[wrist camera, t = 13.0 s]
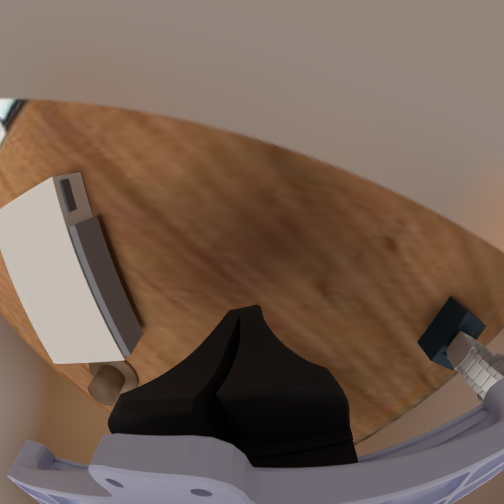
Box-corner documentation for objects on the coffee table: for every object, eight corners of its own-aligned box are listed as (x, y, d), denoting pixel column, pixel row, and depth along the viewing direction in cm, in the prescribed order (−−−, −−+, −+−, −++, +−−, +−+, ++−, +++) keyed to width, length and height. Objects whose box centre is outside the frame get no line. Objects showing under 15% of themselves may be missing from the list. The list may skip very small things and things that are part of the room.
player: (82, 171, 19) (53, 175, 15) (141, 334, 23) (126, 360, 20) (17, 207, 20) (-10, 215, 16) (71, 342, 24) (54, 363, 21)
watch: (448, 357, 24) (496, 423, 14) (406, 336, 23) (461, 418, 13) (478, 316, 23) (537, 374, 12) (441, 288, 22) (514, 355, 11)
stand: (147, 391, 26) (137, 414, 22) (107, 391, 26) (95, 412, 23) (123, 349, 24) (109, 372, 21) (82, 353, 25) (67, 373, 21)
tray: (96, 215, 19) (74, 224, 16) (143, 333, 22) (130, 354, 19) (29, 243, 20) (7, 254, 17) (72, 341, 23) (57, 359, 20)
